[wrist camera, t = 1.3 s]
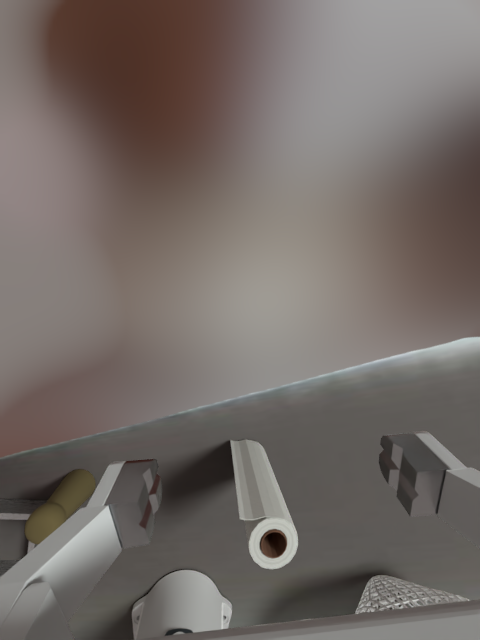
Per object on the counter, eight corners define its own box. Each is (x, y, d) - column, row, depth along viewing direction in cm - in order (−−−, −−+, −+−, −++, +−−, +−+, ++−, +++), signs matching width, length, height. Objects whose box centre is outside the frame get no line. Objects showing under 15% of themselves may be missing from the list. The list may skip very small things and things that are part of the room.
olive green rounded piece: (100, 493, 48) (65, 542, 37) (68, 506, 48) (24, 560, 37) (89, 464, 48) (51, 504, 37) (57, 476, 48) (9, 521, 37)
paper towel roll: (268, 464, 51) (305, 560, 30) (240, 474, 51) (256, 579, 30) (258, 430, 51) (288, 501, 30) (230, 439, 51) (239, 519, 30)
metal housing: (43, 566, 47) (29, 586, 44) (-27, 565, 46) (-47, 585, 42) (51, 500, 47) (38, 514, 44) (-18, 498, 46) (-37, 511, 43)
